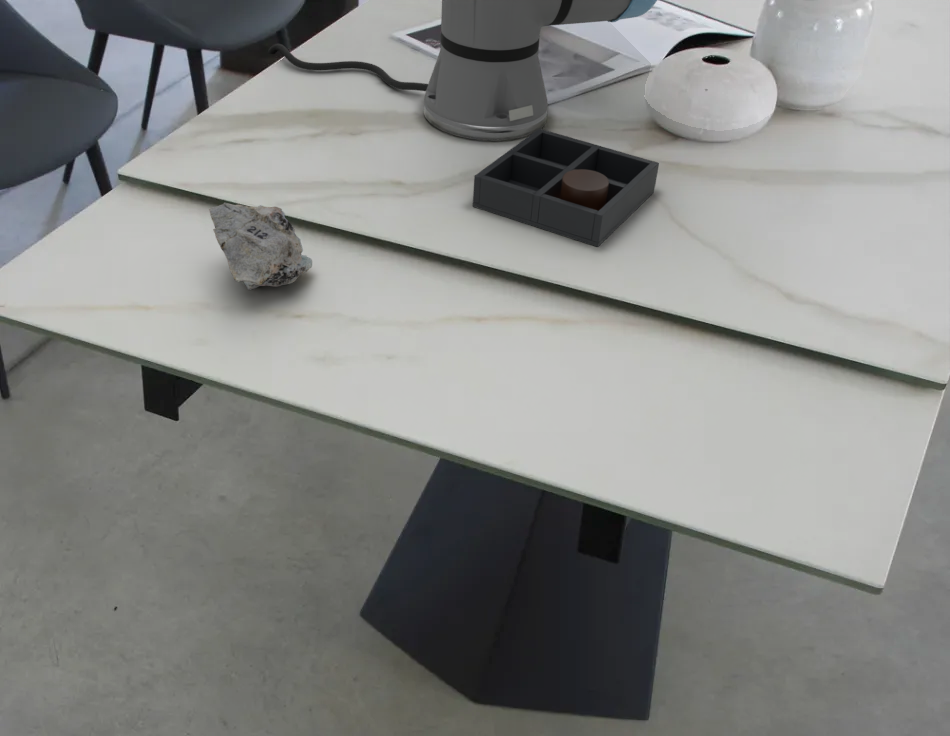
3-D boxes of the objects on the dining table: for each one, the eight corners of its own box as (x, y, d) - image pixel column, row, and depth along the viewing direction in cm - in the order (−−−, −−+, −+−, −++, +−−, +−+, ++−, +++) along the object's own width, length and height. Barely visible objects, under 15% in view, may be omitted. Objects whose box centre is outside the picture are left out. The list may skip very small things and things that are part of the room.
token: (550, 217, 107) (554, 181, 105) (570, 200, 111) (574, 164, 108) (591, 230, 106) (597, 194, 103) (611, 212, 109) (616, 177, 106)
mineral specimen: (296, 320, 101) (192, 298, 98) (307, 240, 102) (204, 217, 99) (316, 296, 92) (202, 272, 89) (328, 210, 93) (215, 183, 89)
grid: (472, 206, 110) (474, 175, 107) (536, 157, 120) (539, 128, 117) (597, 247, 105) (602, 215, 102) (654, 192, 114) (659, 162, 112)
